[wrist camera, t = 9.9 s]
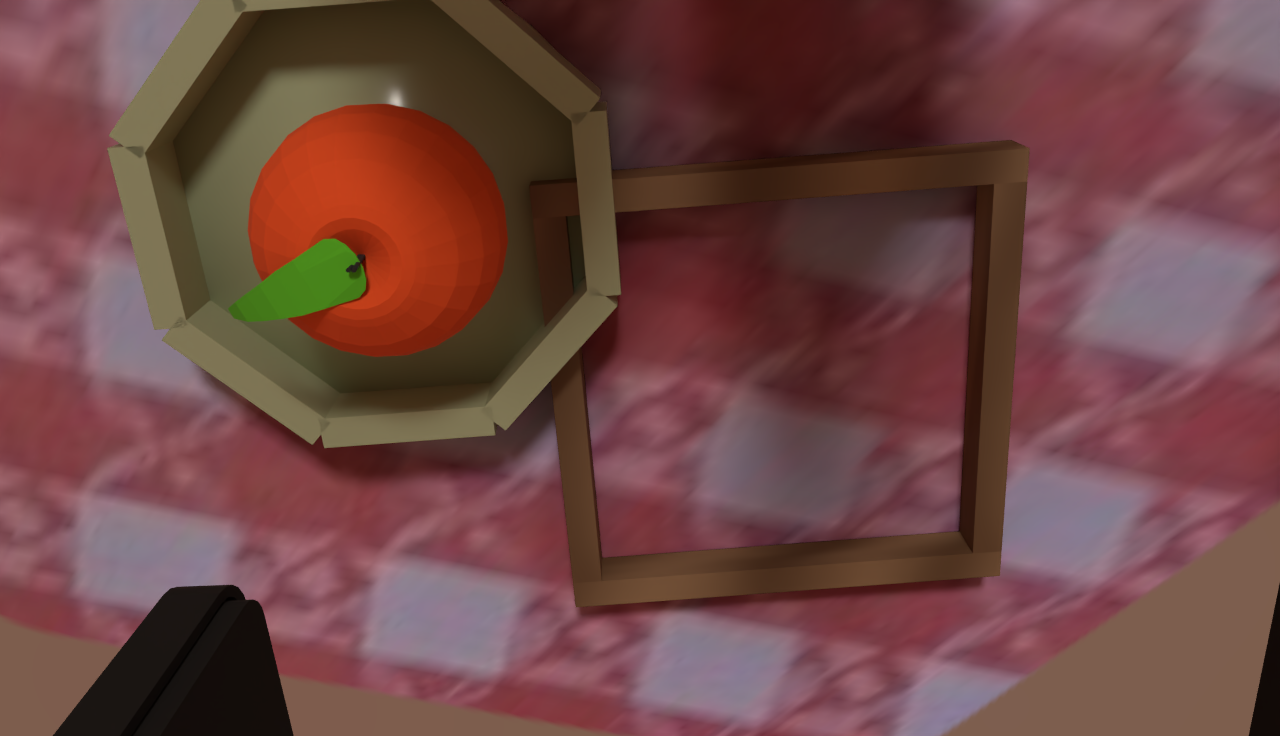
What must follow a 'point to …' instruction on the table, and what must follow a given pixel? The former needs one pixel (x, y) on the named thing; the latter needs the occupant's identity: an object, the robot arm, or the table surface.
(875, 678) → the table surface
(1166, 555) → the table surface
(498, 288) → the dish
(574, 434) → the brown rectangular frame
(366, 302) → the clementine
